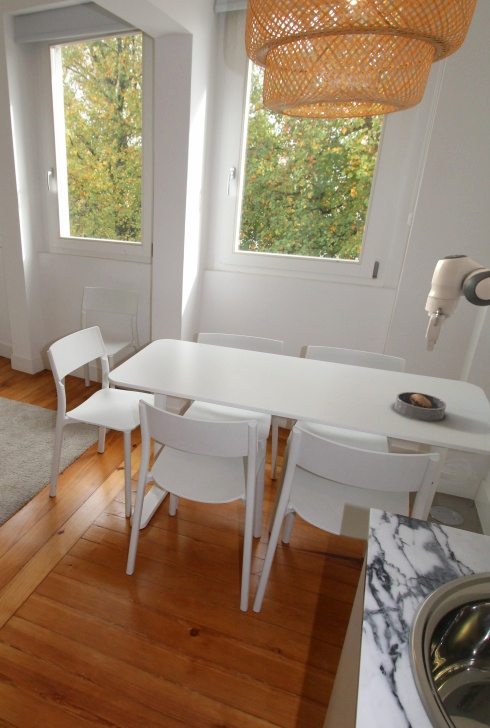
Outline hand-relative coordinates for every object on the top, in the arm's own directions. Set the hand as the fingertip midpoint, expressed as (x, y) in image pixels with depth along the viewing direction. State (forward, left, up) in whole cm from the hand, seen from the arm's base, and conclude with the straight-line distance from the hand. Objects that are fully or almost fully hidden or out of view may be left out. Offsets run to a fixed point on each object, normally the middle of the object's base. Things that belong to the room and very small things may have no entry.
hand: (431, 346), depth 157 cm
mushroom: (-1, 0, -24) cm, 24 cm away
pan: (-1, 0, -24) cm, 24 cm away
